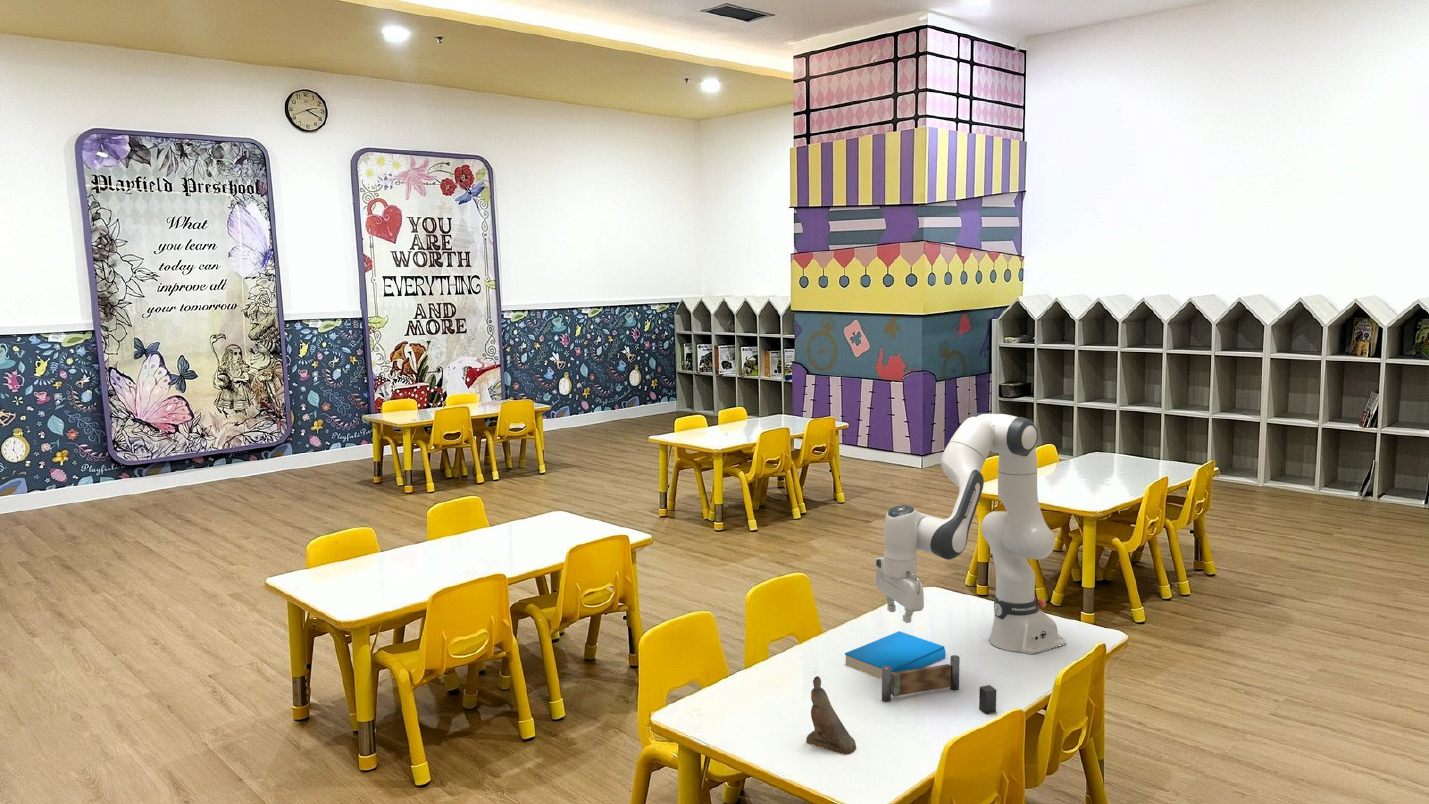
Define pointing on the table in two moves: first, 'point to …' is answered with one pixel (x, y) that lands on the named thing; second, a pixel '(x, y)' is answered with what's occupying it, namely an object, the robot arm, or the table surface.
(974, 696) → the table surface
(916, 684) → the gate
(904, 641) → the book
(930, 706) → the table surface
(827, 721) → the worn brown figurine
